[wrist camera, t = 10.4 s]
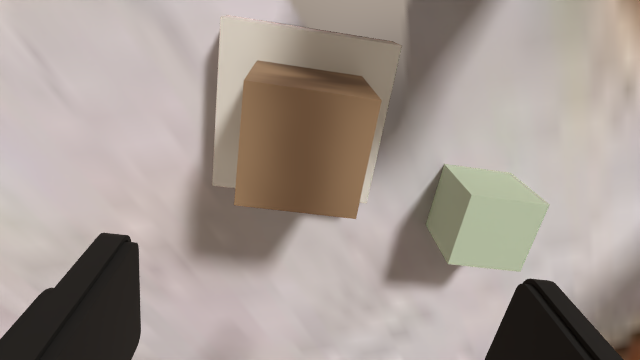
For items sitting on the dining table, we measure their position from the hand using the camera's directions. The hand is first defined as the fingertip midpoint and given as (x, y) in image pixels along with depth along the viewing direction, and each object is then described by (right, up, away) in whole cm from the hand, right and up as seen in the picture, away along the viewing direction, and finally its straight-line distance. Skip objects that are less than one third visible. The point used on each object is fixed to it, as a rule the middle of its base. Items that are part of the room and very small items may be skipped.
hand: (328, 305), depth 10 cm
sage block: (+11, +2, +20) cm, 23 cm away
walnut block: (-1, +7, +14) cm, 16 cm away
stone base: (-1, +8, +16) cm, 18 cm away
